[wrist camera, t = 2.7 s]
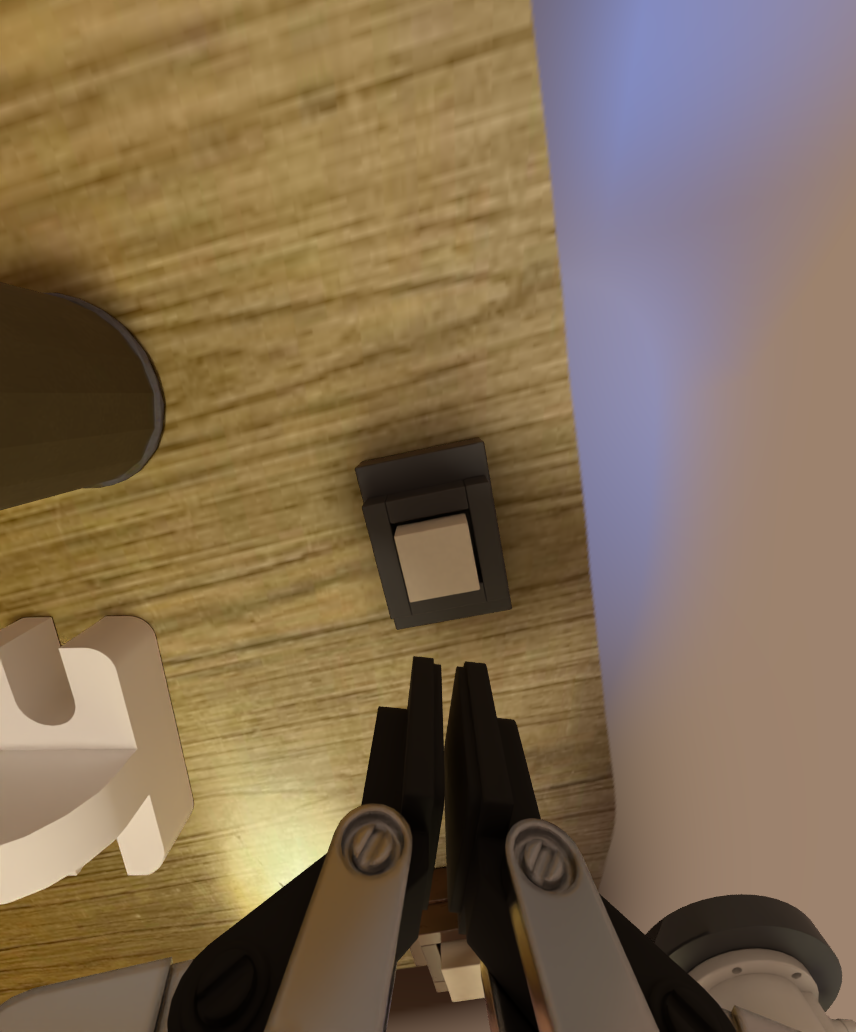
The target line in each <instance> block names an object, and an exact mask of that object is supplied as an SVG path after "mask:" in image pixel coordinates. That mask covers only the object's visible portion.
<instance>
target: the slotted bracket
mask: <svg viewBox="0 0 856 1032" xmlns="http://www.w3.org/2000/svg"><path fill="white" fill-rule="evenodd" d="M193 805H194V802H193V796H192V792H191V788H190V783H189V779H188V775H187V770H186V766H185V762H184V757H183V753H182V749H181V744H180V740H179V736H178V731H177V727H176V722H175V718H174V714H173V709H172V705H171V701H170V696H169V692H168V688H167V683H166V679H165V675H164V670H163V666H162V662H161V657H160V653H159V648H158V644H157V640H156V636H155V633H154V631H153V629H152V628H151V626H150V625H149V624H148V623H146V622H145V621H143V620H142V619H140V618H137V617H133V616H105V617H104V618H102V619H101V620H99V621H98V622H97V623H95V624H94V625H92V626H91V627H89V628H88V629H86V630H85V631H83V632H82V633H80V634H79V635H77V636H76V637H74V638H73V639H71V640H70V641H68V642H67V643H66V644H64V645H63V646H61V647H60V643H59V640H58V637H57V633H56V630H55V627H54V623H53V620H52V617H27V618H22V619H20V620H18V621H16V622H14V623H12V624H10V625H9V626H7V627H5V628H3V629H1V630H0V904H7V903H10V902H12V901H15V900H17V899H20V898H23V897H25V896H28V895H30V894H33V893H35V892H38V891H40V890H43V889H45V888H47V887H49V886H51V885H52V884H54V883H56V882H57V881H59V880H61V879H62V878H64V877H66V876H67V875H77V874H78V873H79V871H80V870H81V869H82V867H83V866H84V865H85V864H86V863H88V862H89V861H90V860H91V859H92V858H94V857H95V856H96V855H97V854H99V853H100V852H101V851H102V850H104V849H105V848H106V847H107V846H109V845H110V844H111V843H112V842H114V840H115V839H116V838H117V841H118V844H119V848H120V851H121V854H122V857H123V861H124V864H125V867H126V870H127V874H128V875H149V874H151V873H153V872H155V871H156V870H157V869H158V868H159V867H160V866H161V865H162V863H163V861H164V859H165V858H166V856H167V854H168V852H169V851H170V849H171V847H172V846H173V844H174V842H175V840H176V839H177V837H178V835H179V833H180V832H181V830H182V828H183V826H184V825H185V823H186V821H187V820H188V818H189V816H190V814H191V812H192V810H193Z"/></svg>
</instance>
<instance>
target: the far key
mask: <svg viewBox="0 0 856 1032" xmlns="http://www.w3.org/2000/svg"><path fill="white" fill-rule="evenodd" d="M441 971H442V974H443V976H444V979H445V982H446V985H447V988H448V990H449V993H450V996H451V999H452V1001H453V1002H456V1001H464V1000H471V999H478V998H485V996H484V991H483V985H482V979H481V970H480V959H479V957H478V956H477V955H476V954H475V952H474V951H473V950H472V949H471V947H470V946H469V945H468V944H467V941H466V939H464V940H457V941H451V942H444V943H441Z"/></svg>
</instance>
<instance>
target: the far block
mask: <svg viewBox="0 0 856 1032" xmlns="http://www.w3.org/2000/svg"><path fill="white" fill-rule="evenodd" d="M464 939H466V935H461V934H458V915H457V913H452V912H449V911H448V895H447V867H445V868H439V869H434V872H433V878H432V885H431V891H430V898H429V904H428V910H422V916H421V922H420V929H419V935H418V939H417V940H416V941H415V942H414V943H413V945H412V946H411V947H410V950H411V953H412V956H413V958H414V961H415V964H416V966H423V965H428V968H429V971H430V973H431V976H432V979H433V982H434V985H435V987H436V990H437V992H444V991H449V990H448V988H447V985H446V982H445V979H444V976H443V974H442V971H441V943H444V942H451V941H457V940H464Z"/></svg>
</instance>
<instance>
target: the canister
mask: <svg viewBox="0 0 856 1032" xmlns="http://www.w3.org/2000/svg"><path fill="white" fill-rule="evenodd" d="M163 417H164V402H163V398H162V394H161V389H160V385H159V381H158V379H157V377H156V375H155V372H154V370H153V368H152V366H151V363H150V361H149V359H148V357H147V355H146V353H145V351H144V350H143V349H142V347H141V346H140V345H139V343H138V342H137V341H136V339H135V338H134V337H133V336H132V335H131V334H130V333H129V332H128V330H127V329H126V328H125V327H124V326H123V325H122V324H121V323H120V322H118V321H117V320H116V319H114V318H113V317H111V316H110V315H109V314H107V313H106V312H105V311H103V310H101V309H99V308H97V307H95V306H93V305H91V304H89V303H87V302H85V301H83V300H81V299H78V298H74V297H71V296H67V295H63V294H59V293H41V292H37V291H33V290H29V289H25V288H21V287H17V286H13V285H9V284H5V283H1V282H0V510H3V509H7V508H11V507H14V506H18V505H22V504H25V503H29V502H33V501H36V500H40V499H44V498H47V497H51V496H55V495H58V494H62V493H66V492H69V491H73V490H77V489H80V488H101V487H105V486H110V485H114V484H116V483H119V482H121V481H124V480H126V479H128V478H129V477H131V476H132V475H134V474H135V473H137V472H139V471H140V470H141V469H142V468H143V466H144V465H145V464H146V462H147V461H148V460H149V458H150V457H151V456H152V454H153V453H154V452H155V450H156V449H157V446H158V442H159V439H160V435H161V431H162V426H163Z"/></svg>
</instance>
